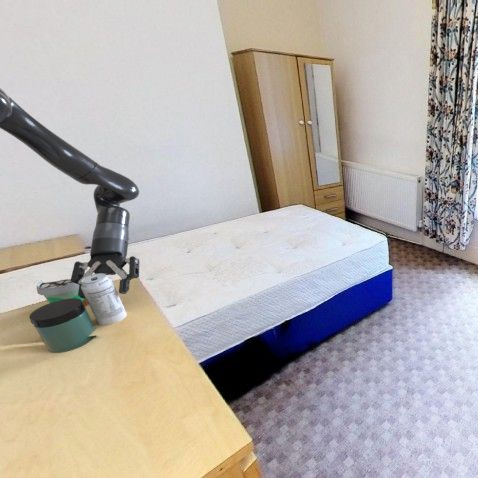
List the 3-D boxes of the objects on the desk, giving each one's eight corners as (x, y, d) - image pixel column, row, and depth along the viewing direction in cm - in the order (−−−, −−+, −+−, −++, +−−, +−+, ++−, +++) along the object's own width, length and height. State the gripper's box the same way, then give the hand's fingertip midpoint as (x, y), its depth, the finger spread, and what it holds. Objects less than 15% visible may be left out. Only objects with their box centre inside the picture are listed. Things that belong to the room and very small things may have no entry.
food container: (38, 321, 91) (20, 292, 87) (54, 308, 96) (38, 280, 92) (91, 314, 94) (77, 286, 90) (104, 302, 99) (91, 275, 95)
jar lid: (21, 329, 76) (17, 322, 75) (52, 306, 84) (49, 300, 83) (67, 324, 78) (64, 317, 77) (93, 302, 86) (90, 296, 85)
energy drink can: (127, 313, 95) (108, 269, 89) (130, 323, 91) (110, 278, 85) (99, 322, 91) (77, 277, 85) (101, 333, 87) (78, 286, 81)
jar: (37, 355, 80) (18, 324, 76) (66, 330, 88) (50, 301, 84) (81, 350, 81) (65, 320, 78) (105, 326, 90) (92, 298, 86)
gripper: (69, 239, 88) (59, 297, 82) (132, 234, 92) (127, 289, 87) (89, 248, 94) (81, 302, 89) (147, 243, 98) (142, 294, 93)
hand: (103, 295), depth 88 cm, fingers open, 8 cm apart
